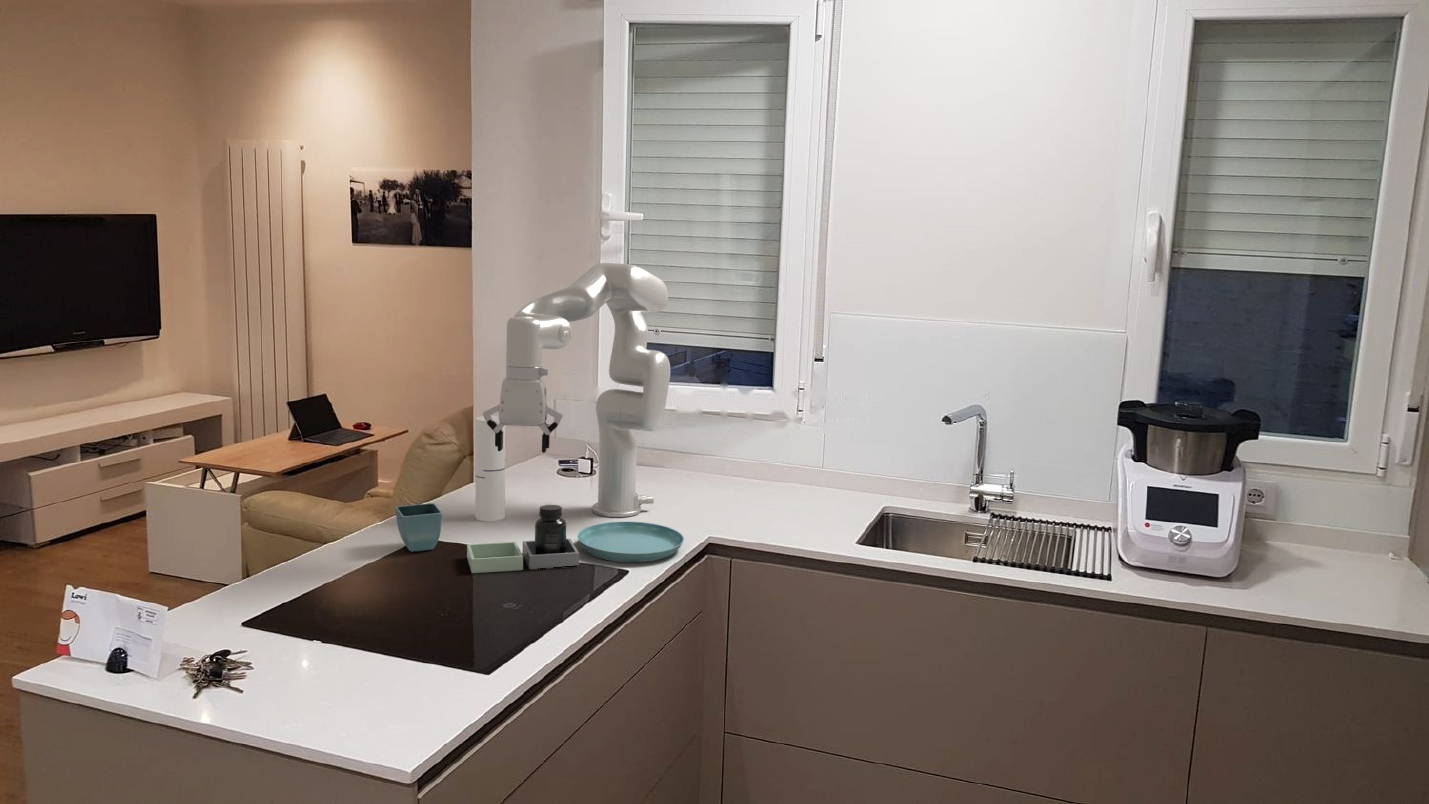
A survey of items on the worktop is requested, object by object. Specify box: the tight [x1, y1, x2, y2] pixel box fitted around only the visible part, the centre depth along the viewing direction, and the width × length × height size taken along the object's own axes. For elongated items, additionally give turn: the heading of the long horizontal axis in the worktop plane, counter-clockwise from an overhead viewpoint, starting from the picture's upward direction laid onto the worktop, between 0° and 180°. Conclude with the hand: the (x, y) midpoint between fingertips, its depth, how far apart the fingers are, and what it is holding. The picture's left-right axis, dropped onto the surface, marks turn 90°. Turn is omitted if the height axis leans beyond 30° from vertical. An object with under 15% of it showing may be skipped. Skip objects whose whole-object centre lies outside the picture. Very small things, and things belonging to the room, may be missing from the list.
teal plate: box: [577, 521, 685, 563], centre depth 240 cm, size 24×24×3 cm
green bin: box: [466, 541, 524, 574], centre depth 226 cm, size 11×11×3 cm
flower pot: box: [394, 502, 444, 553], centre depth 234 cm, size 9×9×9 cm
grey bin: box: [522, 538, 580, 570], centre depth 230 cm, size 11×11×3 cm
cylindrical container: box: [474, 415, 506, 522], centre depth 259 cm, size 7×7×25 cm
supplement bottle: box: [534, 504, 567, 555], centre depth 229 cm, size 7×7×12 cm
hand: (522, 450), depth 232 cm, fingers open, 9 cm apart
